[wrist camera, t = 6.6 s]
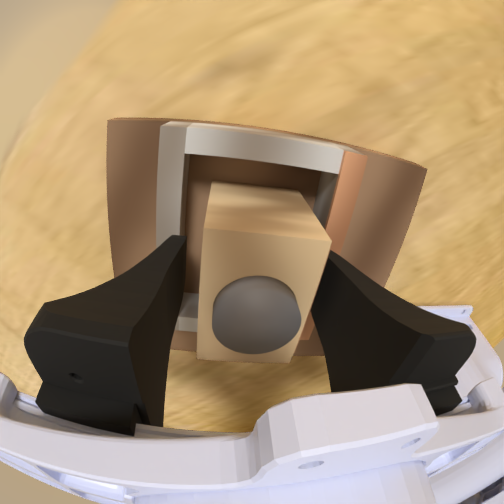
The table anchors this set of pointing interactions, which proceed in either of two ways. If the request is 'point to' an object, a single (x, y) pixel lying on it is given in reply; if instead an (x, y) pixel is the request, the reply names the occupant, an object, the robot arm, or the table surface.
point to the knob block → (257, 272)
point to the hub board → (258, 173)
